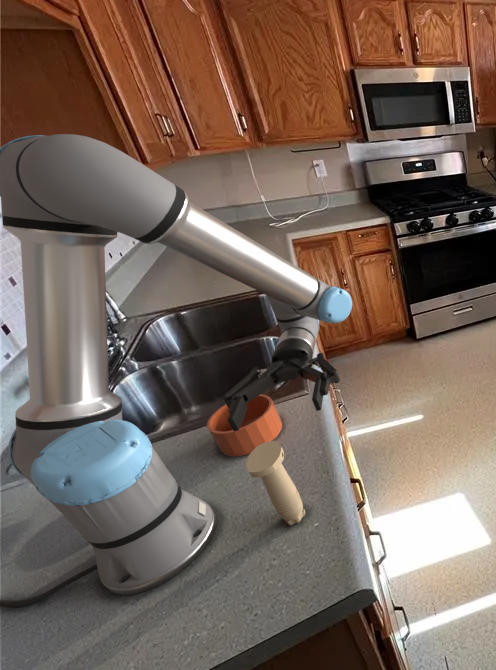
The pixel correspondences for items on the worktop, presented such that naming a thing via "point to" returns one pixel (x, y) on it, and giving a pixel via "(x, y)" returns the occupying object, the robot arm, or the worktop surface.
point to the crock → (246, 427)
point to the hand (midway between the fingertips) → (275, 414)
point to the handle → (276, 480)
